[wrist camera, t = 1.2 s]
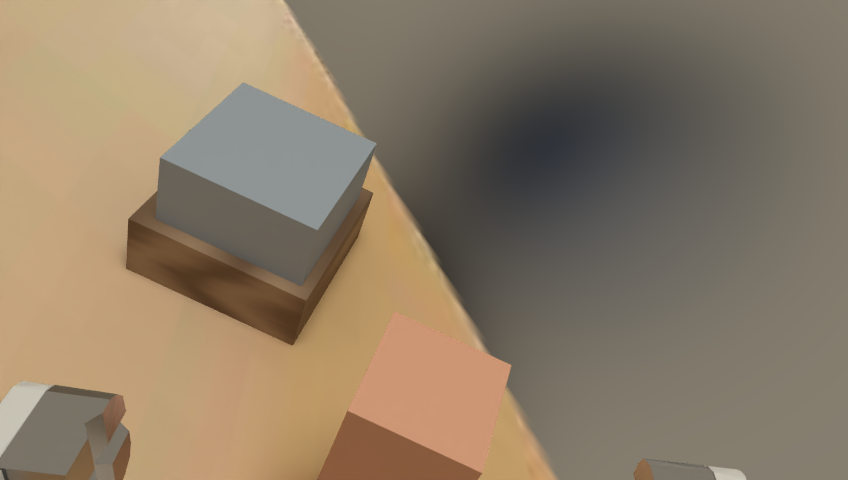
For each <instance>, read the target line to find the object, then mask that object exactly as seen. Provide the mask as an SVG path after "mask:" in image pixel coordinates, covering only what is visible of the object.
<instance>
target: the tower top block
mask: <svg viewBox="0 0 848 480" xmlns="http://www.w3.org/2000/svg"><path fill="white" fill-rule="evenodd" d="M375 147H376V143H374V142H372V141H370V140H368V139H366V138H363V137H361V136H359V135H357V134H355V133H352V132H350V131H348V130H346V129H344V128H342V127H339V126H337V125H335V124H333V123H331V122H328V121H326V120H324V119H322V118H320V117H318V116H315V115H313V114H311V113H309V112H307V111H305V110H302V109H300V108H298V107H296V106H294V105H291V104H289V103H287V102H285V101H283V100H281V99H278V98H276V97H274V96H272V95H270V94H267V93H265V92H263V91H261V90H259V89H257V88H254V87H252V86H250V85H248V84H246V83H242V84H241V85H240V86H239V87H237V88H236V89H235V90H234V91H233V92H232V93H231V94H230V95H229V96H228V97H226V98H225V99H224V100H223V101H222V102H221V103H220V104H219V105H218V106H217V107H215V108H214V109H213V110H212V111H211V112H210V113H209V114H208V115H207V116H205V117H204V118H203V119H202V120H201V121H200V122H199V123H198V124H197V125H196V126H194V127H193V128H192V129H191V130H190V131H189V132H188V133H187V134H186V135H184V136H183V137H182V138H181V139H180V140H179V141H178V142H177V143H176V144H175V145H173V146H172V147H171V148H170V149H169V150H168V151H167V152H166V153H165V154H164V155H162V156H161V157H160V165H159V178H158V191H157V203H156V216H155V219H157V220H159V221H161V222H163V223H165V224H167V225H170V226H172V227H174V228H176V229H178V230H180V231H182V232H185V233H187V234H189V235H191V236H193V237H195V238H198V239H200V240H202V241H204V242H206V243H208V244H211V245H213V246H215V247H217V248H219V249H221V250H223V251H226V252H228V253H230V254H232V255H234V256H236V257H239V258H241V259H243V260H245V261H247V262H249V263H252V264H254V265H256V266H258V267H260V268H262V269H264V270H267V271H269V272H271V273H273V274H275V275H277V276H280V277H282V278H284V279H286V280H288V281H290V282H293V283H295V284H297V285H299V286H302V284H303V283H304V281H305V280H306V278H307V277H308V275H309V273H310V272H311V270H312V269H313V267H314V266H315V264H316V263H317V261H318V260H319V258H320V256H321V255H322V253H323V252H324V250H325V249H326V247H327V246H328V244H329V243H330V241H331V239H332V238H333V236H334V235H335V233H336V232H337V230H338V229H339V227H340V226H341V224H342V222H343V221H344V219H345V218H346V216H347V215H348V213H349V212H350V210H351V209H352V207H353V205H354V204H355V202H356V201H357V199H358V198H359V195H360V192H361V189H362V186H363V183H364V180H365V177H366V174H367V171H368V168H369V165H370V162H371V159H372V156H373V153H374V150H375Z"/></svg>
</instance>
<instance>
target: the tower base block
mask: <svg viewBox="0 0 848 480" xmlns="http://www.w3.org/2000/svg"><path fill="white" fill-rule="evenodd" d="M372 195H373V193H372V192H370V191H368V190H366V189H364V188H362V189H361V192H360V195H359V198H358V199H357V201H356V202H355V204H354V205H353V207H352V209H351V210H350V212H349V213H348V215H347V216H346V218H345V219H344V221H343V222H342V224H341V226H340V227H339V229H338V230H337V232H336V233H335V235H334V236H333V238H332V239H331V241H330V243H329V244H328V246H327V247H326V249H325V250H324V252H323V253H322V255H321V256H320V258H319V260H318V261H317V263H316V264H315V266H314V267H313V269H312V270H311V272H310V273H309V275H308V277H307V278H306V280H305V281H304V283H303V284H302V286H299V285H297V284H295V283H293V282H290V281H288V280H286V279H284V278H282V277H280V276H277V275H275V274H273V273H271V272H269V271H267V270H264V269H262V268H260V267H258V266H256V265H254V264H252V263H249V262H247V261H245V260H243V259H241V258H239V257H236V256H234V255H232V254H230V253H228V252H226V251H223V250H221V249H219V248H217V247H215V246H213V245H211V244H208V243H206V242H204V241H202V240H200V239H198V238H195V237H193V236H191V235H189V234H187V233H185V232H182V231H180V230H178V229H176V228H174V227H172V226H170V225H167V224H165V223H163V222H161V221H159V220H157V219H155V216H156V203H157V192H156V193H155V194H154V195H153V196H152V197H151V198H150V199H148V200H147V201H146V202H145V203H144V204H143V205H142V206H141V207H140V208H139V209H138V210H137V211H136V212H135V213H134V214H133V215H132V216H131V217H130V218H129V219H128V241H127V264H126V269H128V270H131V271H133V272H135V273H137V274H139V275H141V276H144V277H146V278H148V279H150V280H152V281H154V282H157V283H159V284H161V285H163V286H165V287H167V288H169V289H172V290H174V291H176V292H178V293H180V294H182V295H185V296H187V297H189V298H191V299H193V300H195V301H198V302H200V303H202V304H204V305H206V306H208V307H210V308H213V309H215V310H217V311H219V312H221V313H223V314H226V315H228V316H230V317H232V318H234V319H236V320H239V321H241V322H243V323H245V324H247V325H249V326H251V327H254V328H256V329H258V330H260V331H262V332H264V333H267V334H269V335H271V336H273V337H275V338H277V339H280V340H282V341H284V342H286V343H288V344H290V345H293V344H294V342H295V340H296V339H297V337H298V335H299V334H300V332H301V330H302V329H303V327H304V325H305V324H306V322H307V320H308V319H309V317H310V315H311V314H312V312H313V310H314V309H315V307H316V305H317V304H318V302H319V300H320V299H321V297H322V295H323V294H324V292H325V290H326V289H327V287H328V285H329V284H330V282H331V280H332V279H333V277H334V275H335V274H336V272H337V270H338V269H339V267H340V265H341V264H342V262H343V260H344V259H345V257H346V255H347V254H348V252H349V251H350V249H351V247H352V246H353V244H354V242H355V241H356V239H357V237H358V235H359V232H360V229H361V226H362V224H363V221H364V218H365V215H366V212H367V209H368V207H369V204H370V201H371V198H372Z"/></svg>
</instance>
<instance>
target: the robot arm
mask: <svg viewBox="0 0 848 480" xmlns="http://www.w3.org/2000/svg"><path fill="white" fill-rule="evenodd" d="M125 412H126V409H125V405H124V400H123V396H121V395H118V394H112V393H105V392H99V391H92V390H85V389H79V388H72V387H65V386H59V385H50V384H43V383H35V382H28V381H21V382H20V383H18V384H16V385H15V386H13V387H12V388H11V389H10V391H9V392H8V393H7V395H6V396H5V397H4V398H3V400H2V401H1V402H0V480H123V478H124V475H125V472H126V468H127V465H128V461H129V457H130V445H131V441H130V434H129V431H128V430H127V429H126V428H125V427H124V426H123V425H122V424H121V423H120V421H121V419H122V418H123V416H124V414H125ZM634 478H635V480H746V477H745V475H744V474H743V473H742V472H741V471H740V470H736V469H727V468H719V467H710V466H706V467H705V466H703V465H697V464H688V463H678V462H670V461H660V460H651V459H642V460H641V461H640V462H639V463H638V465H637V467H636V470H635V472H634Z"/></svg>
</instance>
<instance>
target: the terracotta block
mask: <svg viewBox="0 0 848 480" xmlns="http://www.w3.org/2000/svg"><path fill="white" fill-rule="evenodd" d="M510 368H511V365H510V364H507V363H505V362H503V361H501V360H499V359H497V358H494V357H492V356H490V355H488V354H486V353H484V352H482V351H479V350H477V349H475V348H473V347H471V346H469V345H466V344H464V343H462V342H460V341H458V340H455V339H453V338H451V337H449V336H447V335H445V334H442V333H440V332H438V331H436V330H434V329H432V328H429V327H427V326H425V325H423V324H421V323H419V322H416V321H414V320H412V319H410V318H408V317H406V316H403V315H401V314H399V313H397V312H394V314H393V316H392V318H391V320H390V322H389V324H388V326H387V329H386V331H385V333H384V335H383V337H382V339H381V341H380V343H379V345H378V348H377V350H376V352H375V354H374V356H373V358H372V360H371V362H370V365H369V367H368V369H367V371H366V373H365V375H364V377H363V379H362V381H361V384H360V386H359V388H358V390H357V392H356V394H355V396H354V398H353V400H352V403H351V405H350V407H349V409H348V411H347V413H346V416H345V418H344V420H343V422H342V425H341V427H340V429H339V432H338V434H337V436H336V438H335V441H334V443H333V445H332V447H331V450H330V452H329V454H328V457H327V459H326V461H325V463H324V466H323V468H322V470H321V472H320V475H319V477H318V479H317V480H477V479H478V478H479V477H480V475H481V474H482V472H483V468H484V465H485V461H486V457H487V454H488V450H489V446H490V443H491V439H492V435H493V431H494V428H495V424H496V420H497V417H498V413H499V409H500V405H501V402H502V398H503V394H504V391H505V387H506V383H507V380H508V376H509V372H510Z"/></svg>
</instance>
